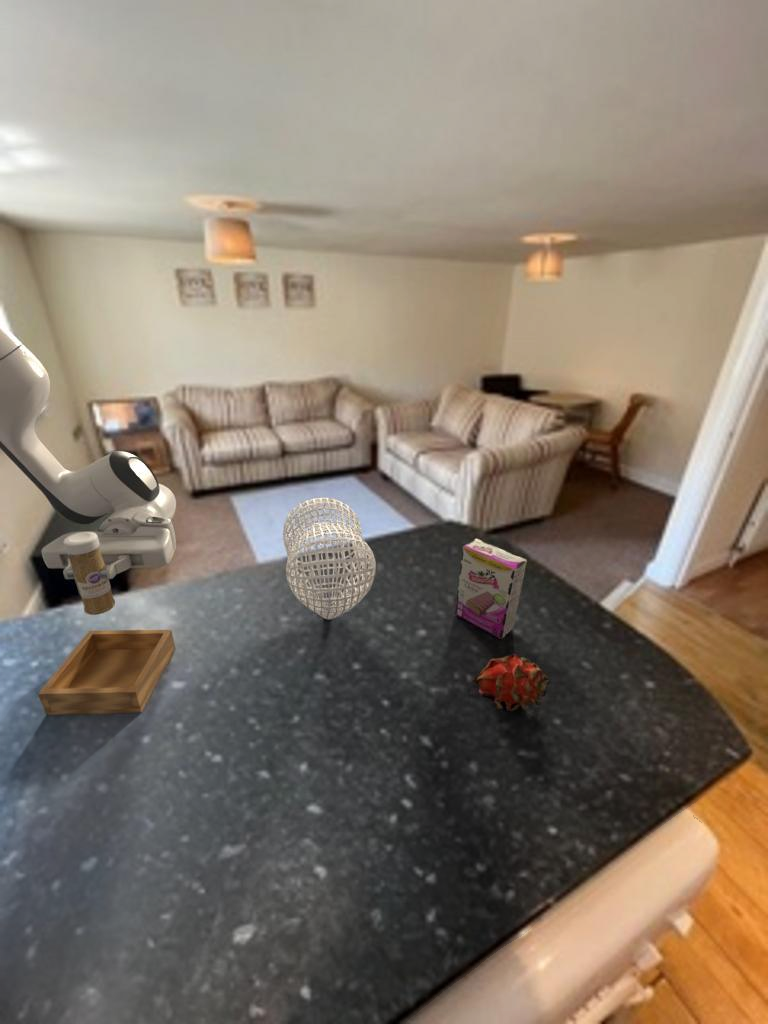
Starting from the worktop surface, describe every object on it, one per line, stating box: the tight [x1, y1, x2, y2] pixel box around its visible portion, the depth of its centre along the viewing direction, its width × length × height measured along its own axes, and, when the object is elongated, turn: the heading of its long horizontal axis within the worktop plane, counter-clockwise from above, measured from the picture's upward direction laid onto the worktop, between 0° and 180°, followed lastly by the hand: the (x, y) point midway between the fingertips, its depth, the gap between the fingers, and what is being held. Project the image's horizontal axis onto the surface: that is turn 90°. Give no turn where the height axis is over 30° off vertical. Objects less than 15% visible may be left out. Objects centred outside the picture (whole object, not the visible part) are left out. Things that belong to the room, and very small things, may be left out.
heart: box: [282, 497, 377, 620], centre depth 86 cm, size 28×16×22 cm, turn 14°
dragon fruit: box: [471, 653, 550, 712], centre depth 71 cm, size 8×8×12 cm
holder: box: [37, 629, 176, 716], centre depth 73 cm, size 14×14×4 cm
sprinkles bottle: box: [63, 532, 116, 616], centre depth 72 cm, size 5×5×14 cm
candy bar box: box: [454, 538, 528, 638], centre depth 86 cm, size 11×5×16 cm, turn 46°
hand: (87, 575), depth 71 cm, fingers closed on sprinkles bottle, 4 cm apart
